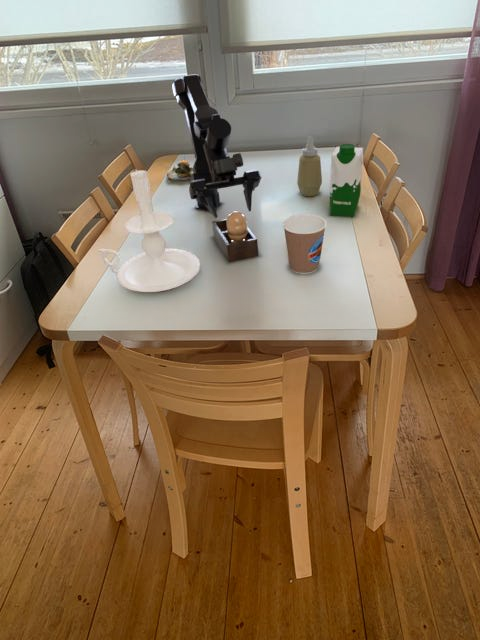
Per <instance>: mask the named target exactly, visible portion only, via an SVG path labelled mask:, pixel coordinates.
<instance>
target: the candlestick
mask: <svg viewBox="0 0 480 640" xmlns="http://www.w3.org/2000/svg"><path fill="white" fill-rule="evenodd" d="M129 175H130V179H131V184H132V190H133V192H134V197H135V202H137V204H138V209H139V213H140V214H137V215H134V216H132V217H130V218H128V220H127V221H125V222H124V229H125V230H126V231H127V232H129V233H132V234H141V235H143V234H144V235H143V238H142V241H141V248H142V251H143V252H142V253H138V254H137V255H134V256H132V257H130V258H129V259H128V260H126V261H125V262H124V263H123V264H121V266H120V267H119V268H118V269H116V267H117V266H118V265H119V264H120V263H121V256H120V254H119V253H118V251H116V250H114V249H111V248H107V249H105V248H102V247H101V248H98V249H97V251H98V252H100V253H101V260H102V262H103V263H104V264H105V265H107V266H108V267H109V268H110V270H111V271H112V273H115V274H116V280H117V282H118V283H119V285H120V286H122V287H123V288H125V289H127V290H130V291H133V292H139V293H158V292H165V291H168V290H171V289H175V288H177V287H180V286H182V285H185V284H186V283H188V282H189V281H191V280H193V279H194V278H195V277H196V275H197V274H198V273H199V271H200V269H201V261H200V259H199V257H197V256H196V255H195V253H193V252H190V251H188V250H184V249H181V248H166V247H167V242H166V239H165V238H164V237H163V235H162V234H161V233H160V231H163V230H165V229H167V228H169V227H170V226H172V224H173V223H174V222H175V218H174V216H173V215H172V214H170V213H167V212H164V211H155V209H154V206H153V205H154V204H153V200H152V194H151V190H152V187H151V183H150V179H149V173H148V171H147V170H143V169H141V170H137V169H135V171H132V172H131V173H130V174H129ZM107 254H113V256H115V257H116V262H110V261H109V260H107V258H106V255H107Z"/></svg>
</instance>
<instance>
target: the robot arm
mask: <svg viewBox="0 0 480 640" xmlns="http://www.w3.org/2000/svg"><path fill="white" fill-rule="evenodd" d="M171 87H172V88H171V89H172V93H173V97H175V98H176V102H177V105H178V106H179V107H180V108H181V109H182V110H183V111H184V113H185V114H184V115H185V118H186V119H185V120H186V123H187V127H188V132H189V137H190V141H191V145H192V150H193V156H194V163H193V165H192V167H191V168H192V170H193V173H192V177H191V178H190V183H189V189H188V192H189V196H190V199H191V200H196V202H197V205H196V206H195V207H194V208H195V209H196V210H203V211H209V212H210V214H211V215H212V216H213V217H214V218H215V219H217V218H218V214H217V210H216V209H217V208H218V207H220V206H221V205H222V201H220V192H219V191H218V190H220V189H225V188H231V187H236V186H242V187H243V197H244V200H245V203H246V208H247V210H248V212H249V213H250V212H251V211H252V202H253V201H252V198H253V192H254V191H255V190H256V188H258V187H259V185H260V183H261V181H262V174H261V172H260V170H259V169H257V168H255V169H249V170H244V172H243V174H242V176H238V177H235V176H236V175H237V171H238V168H241V167H243V166H244V160H243V156H242V153H241V152H239V153H234V154H233V155H232V157H230V155H229V154H228V150H227V147H228V146H229V141H230V137H231V133H232V125H231V124H230V122H229V121H228V120H226V119H225V118H223V117H221V115H220V113H219V111H218V110H217V109H216V108H214V107H212V106H211V105H210V102H209V100H208V97H207V95H206V93H205V90H204V84H203V78H202V77H201V75H200V74H197V73H195V74H187V75H184V76H182V77H179V78H175V80H174V81H173V82H172V84H171Z"/></svg>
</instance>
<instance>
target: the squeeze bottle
mask: <svg viewBox="0 0 480 640" xmlns="http://www.w3.org/2000/svg"><path fill="white" fill-rule="evenodd" d="M298 162H299V163H298V171H297V179H296V181H297V182H296V184H297V187H298V191H299V193H300V194H301V195H302V196H304V197H314V196H317V195H318V194H319V192H320V189H321V187H322V184H323V178H322V177H323V175H322V162H321V156H320V155H319V154H318V148H317V147H315V145H314V139H313V136H308V137H307V142H306V145H305V147H303V148H302V155H300V156H299V161H298Z"/></svg>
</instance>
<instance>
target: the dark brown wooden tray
mask: <svg viewBox="0 0 480 640" xmlns="http://www.w3.org/2000/svg"><path fill="white" fill-rule="evenodd" d="M226 222H227V218H224V219H219V220H218V219H217V220H212V221H211V225H212V235H213V239H214V241H215V243H216V244H217V246H218V247H219V249H220V250H221V252H222V254H223V256H224V257H225V259H226V260H227V262H228V263H234V262H238V261H242V260H243V261H244V260H248V259H251V258H256V257H259V246H258V245H259V242H258V241H259V240H258V238H257V236H256V235H255V234H254V233H253V232H252V230H251V229H250V228H249V226H248V225H247V235H246V237H245V240H244V241H240V242H235V243H231V239H230V238H229V236H228V233H227V223H226Z"/></svg>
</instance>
